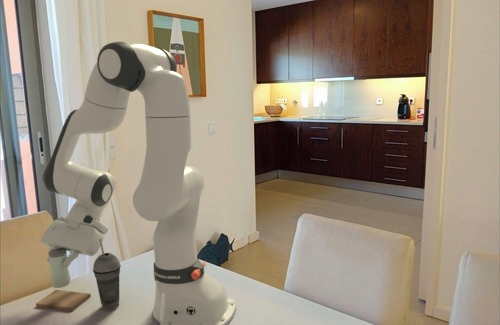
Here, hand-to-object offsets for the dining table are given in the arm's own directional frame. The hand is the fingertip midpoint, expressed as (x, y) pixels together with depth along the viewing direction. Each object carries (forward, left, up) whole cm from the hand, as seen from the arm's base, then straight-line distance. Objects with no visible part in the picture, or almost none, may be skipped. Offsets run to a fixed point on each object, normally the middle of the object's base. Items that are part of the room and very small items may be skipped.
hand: (56, 264), depth 114 cm
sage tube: (0, -1, -6) cm, 6 cm away
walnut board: (0, -1, -12) cm, 12 cm away
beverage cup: (-15, -1, -12) cm, 20 cm away
